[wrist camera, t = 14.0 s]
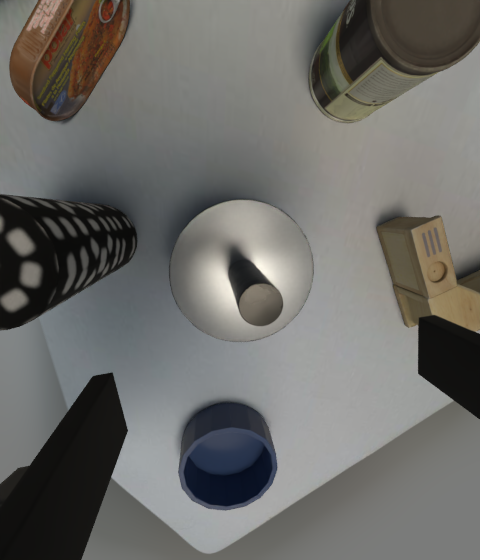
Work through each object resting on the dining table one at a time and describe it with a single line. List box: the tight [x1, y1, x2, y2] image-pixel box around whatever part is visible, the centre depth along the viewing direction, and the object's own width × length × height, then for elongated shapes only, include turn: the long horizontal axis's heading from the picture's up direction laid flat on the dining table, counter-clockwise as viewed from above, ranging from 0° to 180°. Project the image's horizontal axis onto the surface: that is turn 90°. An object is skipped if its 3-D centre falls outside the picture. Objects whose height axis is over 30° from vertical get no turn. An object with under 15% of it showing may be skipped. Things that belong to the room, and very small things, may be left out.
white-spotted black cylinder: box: [0, 194, 137, 330], centre depth 27 cm, size 8×8×20 cm
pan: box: [178, 403, 277, 510], centre depth 42 cm, size 13×13×5 cm
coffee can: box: [309, 0, 480, 123], centre depth 29 cm, size 10×10×14 cm
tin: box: [9, 0, 130, 121], centre depth 28 cm, size 15×3×8 cm, turn 143°
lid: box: [169, 199, 314, 342], centre depth 24 cm, size 14×14×11 cm
